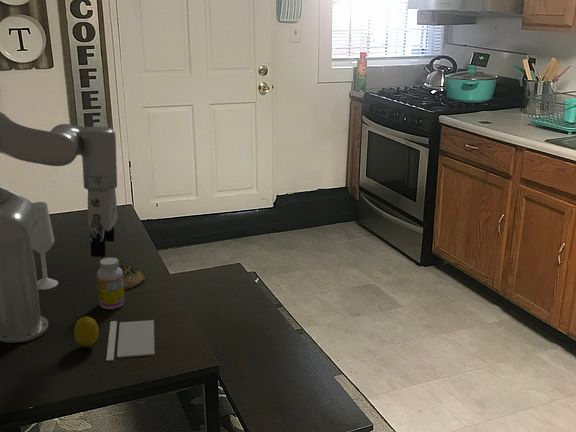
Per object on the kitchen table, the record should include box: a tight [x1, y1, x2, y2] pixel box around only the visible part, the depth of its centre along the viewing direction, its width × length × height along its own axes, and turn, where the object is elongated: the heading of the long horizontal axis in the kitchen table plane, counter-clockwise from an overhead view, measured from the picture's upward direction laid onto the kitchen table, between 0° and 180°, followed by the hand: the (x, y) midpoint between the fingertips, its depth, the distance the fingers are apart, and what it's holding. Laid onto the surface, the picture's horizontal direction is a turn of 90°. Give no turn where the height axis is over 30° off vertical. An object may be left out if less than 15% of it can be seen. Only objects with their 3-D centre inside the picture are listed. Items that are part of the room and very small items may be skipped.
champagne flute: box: [31, 201, 59, 290], centre depth 174 cm, size 7×7×24 cm
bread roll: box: [118, 265, 146, 290], centre depth 181 cm, size 11×11×5 cm
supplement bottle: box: [96, 257, 125, 310], centre depth 166 cm, size 7×7×13 cm
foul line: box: [105, 320, 118, 362], centre depth 151 cm, size 2×18×1 cm, turn 12°
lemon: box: [73, 316, 100, 348], centre depth 146 cm, size 6×6×8 cm
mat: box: [116, 319, 156, 359], centre depth 152 cm, size 8×16×1 cm, turn 12°
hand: (103, 248), depth 150 cm, fingers open, 9 cm apart
